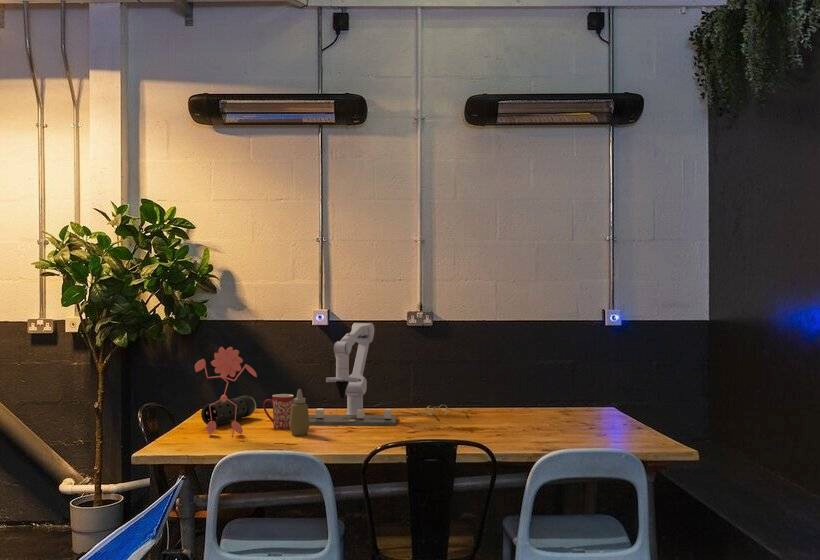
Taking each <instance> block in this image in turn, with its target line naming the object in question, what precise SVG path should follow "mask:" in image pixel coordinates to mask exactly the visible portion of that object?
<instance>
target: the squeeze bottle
mask: <svg viewBox="0 0 820 560" xmlns="http://www.w3.org/2000/svg"><path fill="white" fill-rule="evenodd" d="M309 415H310V414H309V406H308V404H307V403H306V397H303V391H302V389H301V388H299V389H297V393H296V397H295V398H294V397H293V404H292V405H291V413H290V423H289V427H290V428H289V430H290V432H291V435H292V436H297V437H299V436H302V437H303V436H306V435H308V432H309V429H310V426H311V425H310V424H309Z"/></svg>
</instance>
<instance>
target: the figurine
mask: <svg viewBox="0 0 820 560" xmlns="http://www.w3.org/2000/svg"><path fill="white" fill-rule="evenodd" d="M233 348H234V347H233V346H229V347H227V348H226V349H225V348H224V347H223V346H220V347H219V349H218V352H214V355H213V356H214V359H213V360H212V361H210V364H211V366H213V367H215V368H214V373H215V374H220V375H215V376H208V370H207V366H206V364H207V362H206V360H205V358H202V359H199V360H198V361H197V362H196V363H195V364H194V370H195V372H196V373H197V372H200V371H202V370H203V369H204V370H205V371H204V372H205V376H206V378H207V379H215V378H220V379H222V380H224V381H225V382H226V384H225V389H224V394H221V396H220V398H219V399H218V400H217V401H215V402H212V403H213V404H215V403H216V402H220V401H223V402H225V401H227V400H228V401H230V399H229V398H228V396H227V394H226V393H227V389H228V385H229V381H232V382H236V381H237V380H238V377H239V376H240V375H241V374H242V372H244V370H245V369H246V371H248V373H249V374H251V375H252V376H253V377H255V378H257V377H258V375H257V372H256V370H255V369H254V368H253V367H252V366H251V365H248V364H247V363H245V364H244V366H243V367H241V364H242V363H243V362H244V360H243V358H242V357H240V356H239V354H240V350H238V349H233ZM237 372H239V373H238V374H237V375H236V373H237ZM228 375H229V376H230V377H231V378H230V377H227V376H228ZM235 376H236V377H235ZM234 377H235V378H234ZM232 378H233V379H232ZM228 380H229V381H228ZM230 402H231V401H230ZM231 403H233V402H231ZM210 404H211V403H210ZM213 404H211V405H213ZM233 404H234V403H233ZM211 405H210V406H211ZM234 405H236V404H234ZM210 406H209V408H210ZM236 410H237V406H236ZM210 416H211V409H210ZM205 428H206V432H207V433H208V434H209V435H208V438H211V435H212V433H214V432H217V430H216V429H217V426H216V423H215V422H214V421H213V422H212V416H211V422H209V423H208V425H207V424H206V427H205ZM231 428H232V430H228V432H232V433H231V438H234V436H235V435H234V434H235V432H236V433H238V434H240V435H242V434H243V432H244V431H243V426H242V425H241V424H240V423H239V422H238V421H236V411H235V420H233V421H231ZM247 438H249V436H247Z"/></svg>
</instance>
